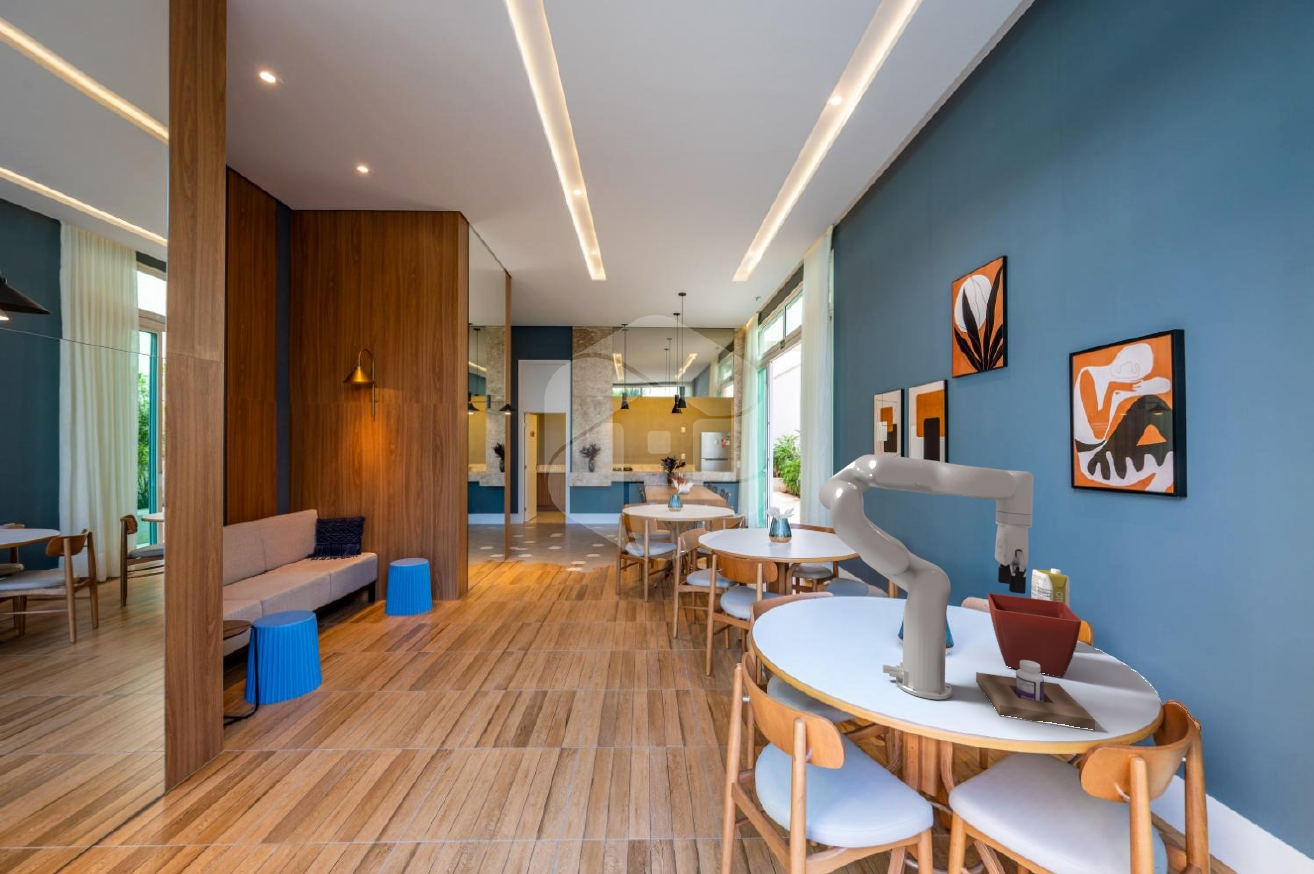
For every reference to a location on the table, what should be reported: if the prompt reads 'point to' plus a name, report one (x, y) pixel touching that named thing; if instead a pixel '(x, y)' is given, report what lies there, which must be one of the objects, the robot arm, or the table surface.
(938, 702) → the table surface
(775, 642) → the table surface
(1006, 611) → the plant pot
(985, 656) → the table surface
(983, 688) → the socket block
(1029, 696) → the pill bottle
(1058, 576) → the juice carton
